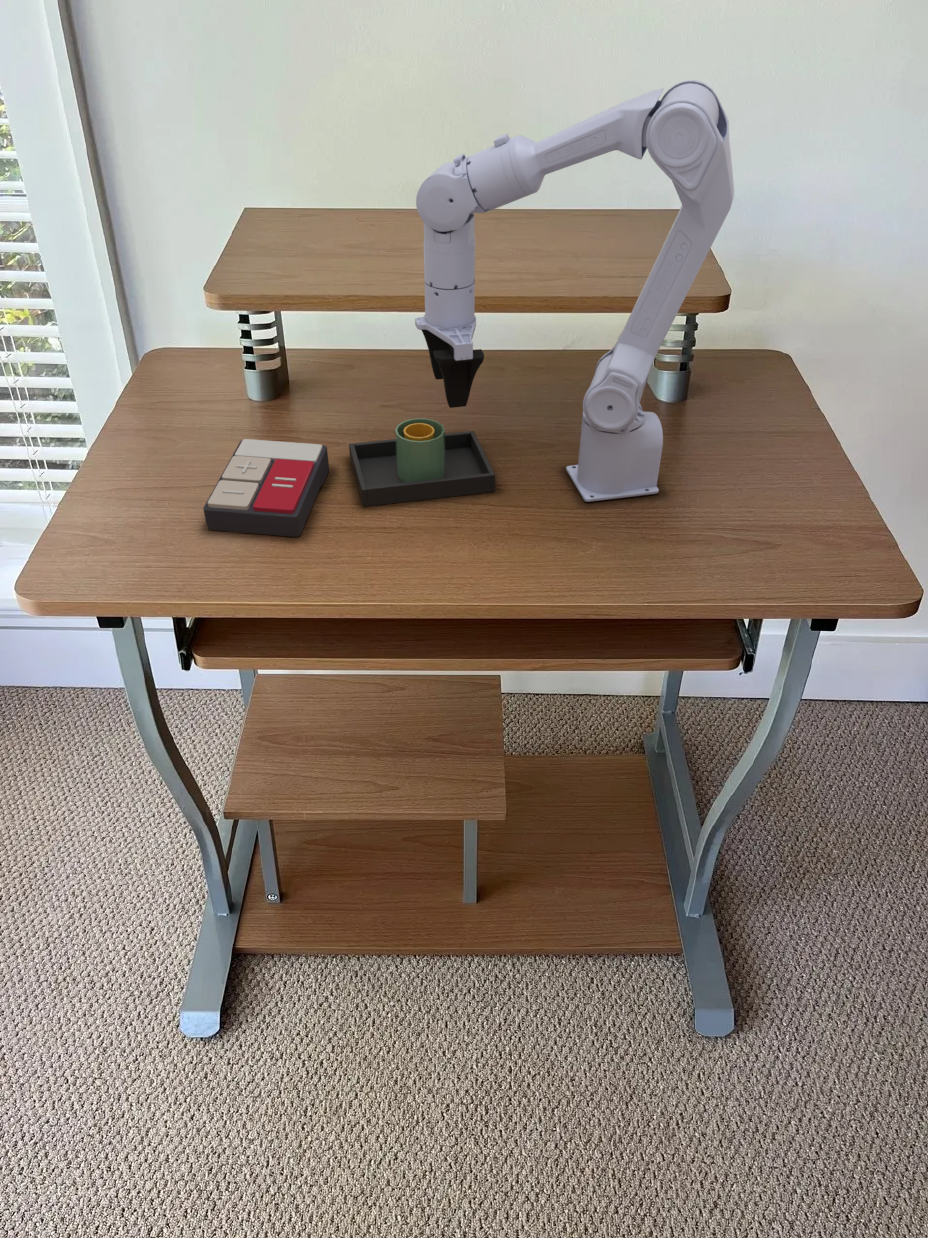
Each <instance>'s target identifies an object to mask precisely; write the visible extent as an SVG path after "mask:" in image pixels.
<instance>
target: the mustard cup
mask: <svg viewBox="0 0 928 1238" xmlns="http://www.w3.org/2000/svg"><path fill="white" fill-rule="evenodd" d="M403 435H404V438H405V439H408V440H412V441H427V440H431V439H434V438H435V430H434V428H433V427H432V426H430V425H428V424H424V423H415V424H410V425H408V426H406V427H405V428H404V430H403Z"/></svg>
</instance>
